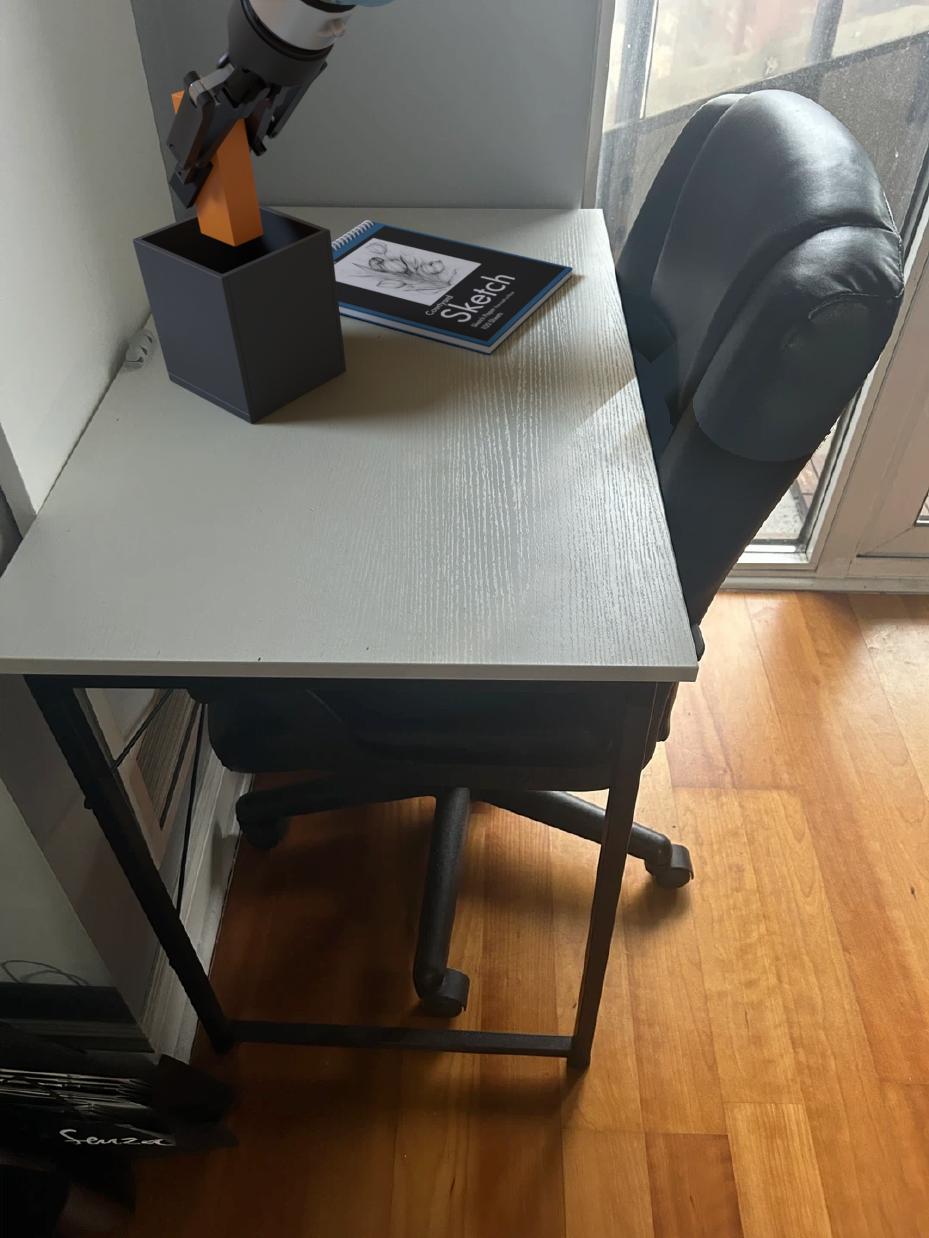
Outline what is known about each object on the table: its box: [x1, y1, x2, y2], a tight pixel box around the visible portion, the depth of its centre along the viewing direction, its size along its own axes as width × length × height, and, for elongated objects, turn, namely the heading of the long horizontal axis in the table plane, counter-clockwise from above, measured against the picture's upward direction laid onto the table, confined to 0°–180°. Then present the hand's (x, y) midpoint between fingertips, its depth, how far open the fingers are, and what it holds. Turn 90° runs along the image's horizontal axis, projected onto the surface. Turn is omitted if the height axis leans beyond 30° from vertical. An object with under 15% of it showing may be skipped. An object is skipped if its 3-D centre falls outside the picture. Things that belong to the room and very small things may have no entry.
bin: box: [132, 203, 347, 424], centre depth 94 cm, size 13×13×15 cm
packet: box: [171, 90, 263, 247], centre depth 85 cm, size 4×5×12 cm
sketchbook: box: [331, 219, 574, 356], centre depth 113 cm, size 22×30×2 cm
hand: (198, 188), depth 89 cm, fingers closed on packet, 3 cm apart
